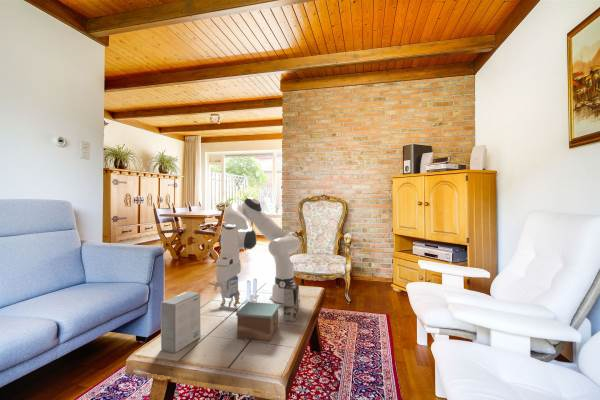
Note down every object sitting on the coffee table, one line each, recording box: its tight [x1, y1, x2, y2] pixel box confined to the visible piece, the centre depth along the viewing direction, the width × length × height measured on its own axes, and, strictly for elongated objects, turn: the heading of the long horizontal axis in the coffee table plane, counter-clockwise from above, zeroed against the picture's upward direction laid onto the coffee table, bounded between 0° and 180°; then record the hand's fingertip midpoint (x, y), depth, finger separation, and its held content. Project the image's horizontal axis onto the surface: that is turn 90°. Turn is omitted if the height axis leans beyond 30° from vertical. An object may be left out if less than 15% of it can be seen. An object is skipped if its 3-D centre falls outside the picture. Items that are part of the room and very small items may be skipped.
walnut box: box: [236, 310, 279, 343], centre depth 135 cm, size 14×15×10 cm
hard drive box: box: [160, 290, 202, 354], centre depth 125 cm, size 16×8×20 cm, turn 159°
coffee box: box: [283, 284, 300, 322], centre depth 154 cm, size 9×6×16 cm
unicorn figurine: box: [207, 281, 241, 307], centre depth 172 cm, size 7×20×13 cm, turn 82°
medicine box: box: [221, 275, 239, 299], centre depth 141 cm, size 8×4×9 cm, turn 161°
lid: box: [235, 301, 281, 319], centre depth 135 cm, size 16×16×1 cm
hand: (229, 286), depth 141 cm, fingers closed on medicine box, 8 cm apart
